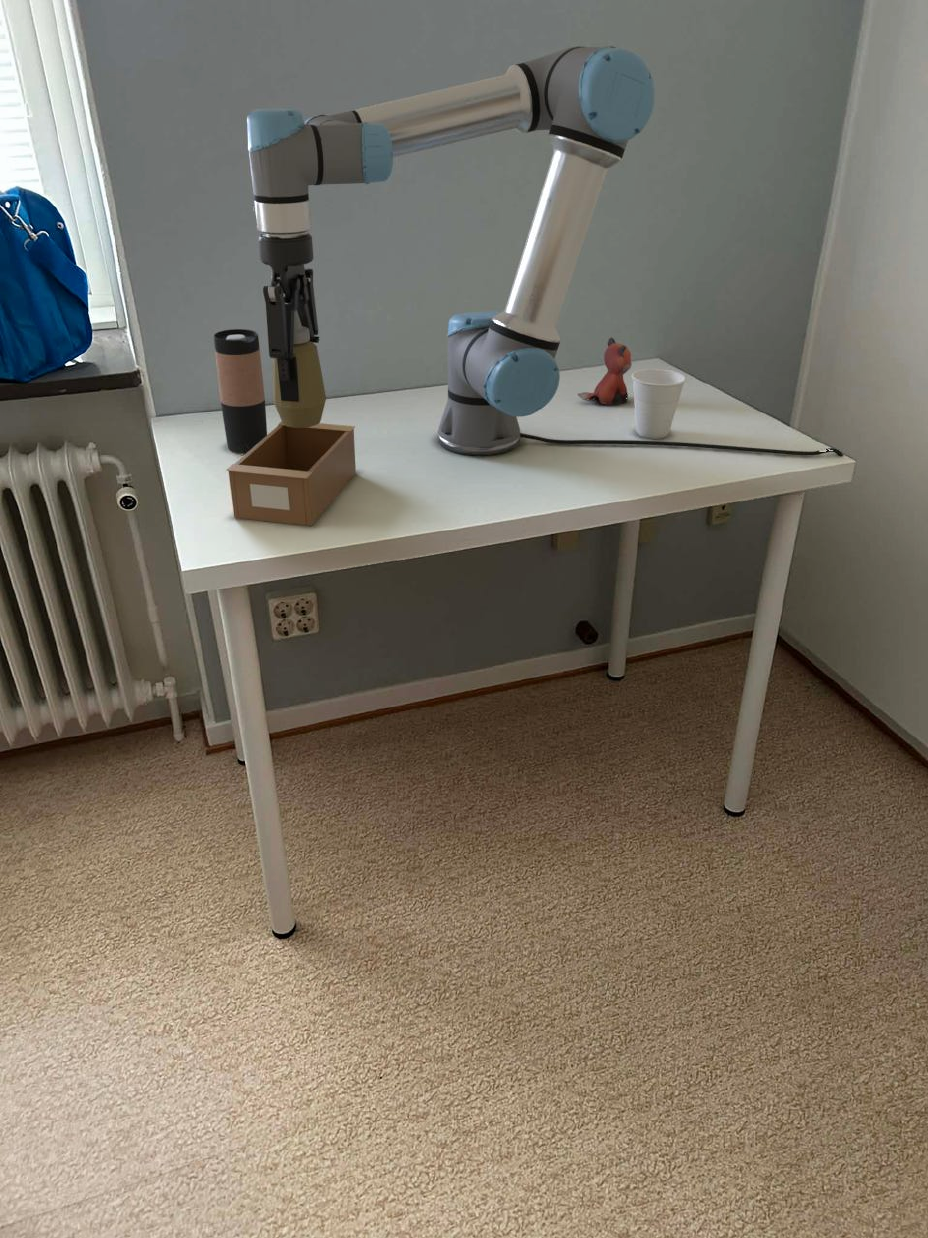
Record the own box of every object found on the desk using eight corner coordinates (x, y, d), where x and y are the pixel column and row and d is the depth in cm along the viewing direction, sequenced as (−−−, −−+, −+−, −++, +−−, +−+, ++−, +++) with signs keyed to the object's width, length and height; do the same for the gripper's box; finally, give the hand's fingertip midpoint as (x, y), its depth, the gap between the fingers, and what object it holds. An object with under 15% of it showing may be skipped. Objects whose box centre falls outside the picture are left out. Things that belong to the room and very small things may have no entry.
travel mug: (229, 438, 176) (216, 328, 166) (271, 438, 177) (260, 328, 167) (223, 454, 170) (209, 340, 160) (267, 453, 170) (256, 340, 160)
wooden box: (357, 471, 164) (355, 426, 160) (310, 528, 145) (306, 478, 141) (287, 464, 166) (283, 419, 162) (232, 519, 147) (226, 469, 143)
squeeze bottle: (318, 433, 145) (307, 312, 136) (267, 429, 147) (254, 309, 137) (334, 415, 152) (326, 299, 143) (286, 412, 153) (275, 296, 144)
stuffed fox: (569, 398, 199) (573, 340, 193) (615, 392, 203) (621, 335, 197) (588, 409, 193) (593, 350, 187) (635, 403, 197) (641, 344, 191)
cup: (620, 438, 179) (625, 380, 174) (632, 421, 187) (638, 365, 181) (672, 446, 176) (680, 387, 170) (683, 429, 184) (691, 372, 178)
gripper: (285, 220, 144) (299, 372, 156) (230, 244, 127) (250, 411, 139) (333, 222, 142) (343, 375, 154) (283, 246, 126) (299, 415, 138)
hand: (299, 392), depth 147 cm, fingers closed on squeeze bottle, 6 cm apart
